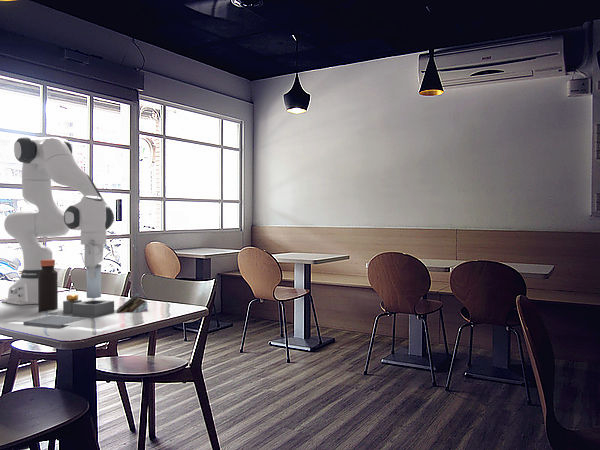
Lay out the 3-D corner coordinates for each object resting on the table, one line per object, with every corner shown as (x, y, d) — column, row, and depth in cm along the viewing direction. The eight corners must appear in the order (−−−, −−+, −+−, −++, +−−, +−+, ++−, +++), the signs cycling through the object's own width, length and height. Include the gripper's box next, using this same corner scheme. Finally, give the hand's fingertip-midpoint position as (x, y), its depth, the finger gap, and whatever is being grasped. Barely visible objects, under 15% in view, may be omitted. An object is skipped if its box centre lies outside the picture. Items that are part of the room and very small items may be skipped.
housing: (45, 316, 188) (45, 303, 188) (77, 309, 203) (77, 297, 203) (93, 321, 181) (93, 307, 181) (123, 313, 196) (123, 300, 196)
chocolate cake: (129, 318, 188) (149, 293, 195) (114, 312, 191) (134, 287, 197) (137, 331, 195) (156, 306, 202) (123, 324, 198) (142, 300, 205)
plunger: (64, 310, 193) (64, 296, 193) (72, 308, 197) (72, 294, 196) (72, 311, 191) (72, 296, 191) (80, 309, 195) (80, 295, 195)
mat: (23, 324, 175) (23, 321, 175) (51, 318, 186) (51, 315, 186) (60, 328, 169) (60, 325, 169) (86, 321, 180) (86, 318, 180)
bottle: (35, 313, 195) (35, 260, 195) (41, 310, 202) (41, 259, 202) (55, 312, 197) (54, 260, 196) (59, 309, 203) (59, 259, 203)
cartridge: (83, 297, 190) (83, 265, 190) (94, 295, 194) (94, 263, 194) (92, 298, 187) (92, 265, 187) (104, 296, 192) (104, 264, 192)
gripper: (98, 241, 181) (99, 280, 181) (105, 238, 201) (106, 273, 201) (79, 241, 179) (79, 280, 180) (88, 238, 199) (88, 273, 200)
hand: (93, 276), depth 191 cm, fingers closed on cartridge, 5 cm apart
